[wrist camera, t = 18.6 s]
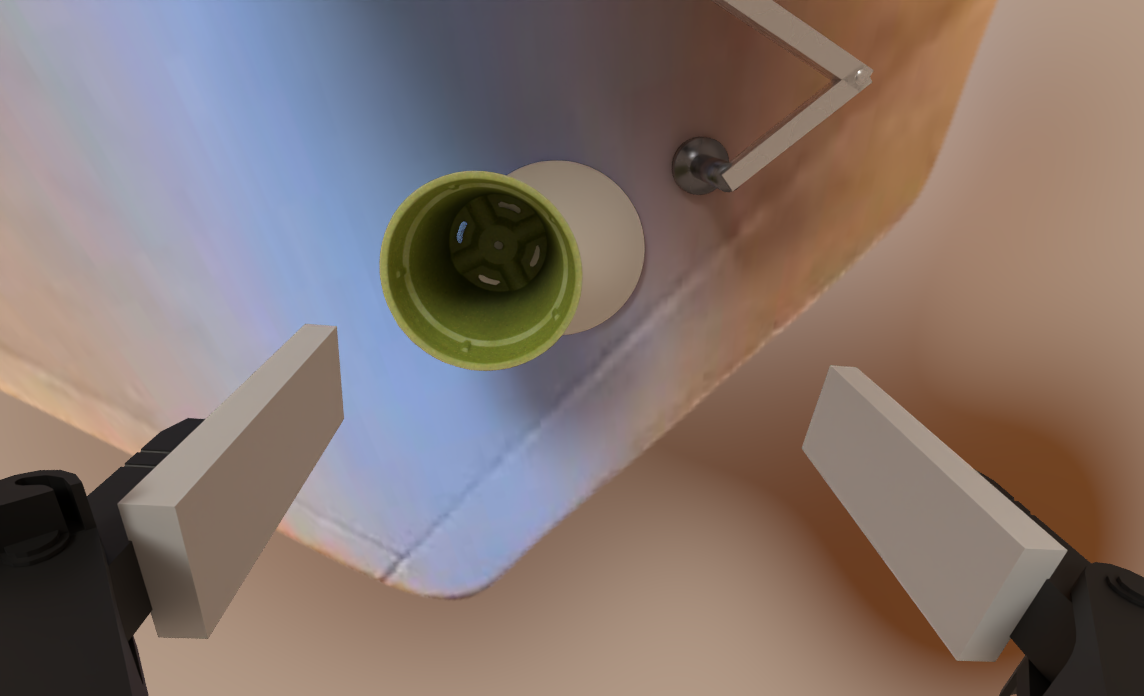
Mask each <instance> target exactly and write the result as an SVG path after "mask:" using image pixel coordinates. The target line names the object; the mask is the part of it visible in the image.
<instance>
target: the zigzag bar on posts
mask: <svg viewBox="0 0 1144 696" xmlns="http://www.w3.org/2000/svg"><path fill="white" fill-rule="evenodd" d="M712 1H713V2H715V3H716V4H718V5H719V6H721V7H722V8H724V9H725V10H727V11H728V12H730V13H731V14H733V15H734V16H736V17H737V18H739V19H740V20H742V21H743V22H745V23H746V24H748V25H749V26H751V27H752V28H754V29H755V30H757V31H758V32H760V33H761V34H763V35H764V36H766V37H767V38H769V39H770V40H772V41H773V42H775V43H776V44H778V45H779V46H781V47H782V48H784V49H785V50H787V51H788V52H790V53H791V54H793V55H794V56H796V57H797V58H799V59H800V60H802V61H803V62H805V63H806V64H807V65H809V66H810V67H812V68H813V69H815V70H816V71H818V72H819V73H821V74H822V75H824V76H825V77H827V78H828V79H830V80H831V81H830V82H829V83H828V84H827V85H825V86H824V87H823V88H822V89H820V90H819V91H818V92H817V93H815V94H814V95H813V96H812V97H810V98H809V99H808V100H807V101H805V102H804V103H803V104H802V105H800V106H799V107H798V108H797V109H795V110H794V111H793V112H792V113H790V114H789V115H788V116H787V117H785V118H784V119H783V120H782V121H780V122H779V123H778V124H776V125H775V126H774V127H773V128H771V129H770V130H769V131H768V132H766V133H765V134H764V135H763V136H761V137H760V138H759V139H758V140H756V141H755V142H754V143H753V144H751V145H750V146H749V147H748V148H746V149H745V150H744V151H743V152H741V153H740V154H739V155H738V156H736V157H735V158H734V159H733V160H731V161H730V162H729V158H728V154H727V152H726V150H725V148H724V147H723V145H722V144H721V143H719V142H718V141H716V140H714V139H711V138H707V137H695V138H692V139H689V140H688V141H686V142H685V143H683V144H682V145H681V146H680V147H679V148H678V150H677V151H676V153H675V155H674V158H673V162H672V174H673V177H674V179H675V181H676V183H677V184H678V185H679V186H680V187H681V188H682V189H684V190H685V191H687V192H689V193H691V194H696V195H702V194H707V193H710V192H712V191H714V190H715V189H717V188H718V189H720V190H722V191H724V192H732V191H734V190H736V189H737V188H739V186H740V185H741V184H743V183H744V182H745V181H747V180H748V179H749V178H750V177H752V176H753V175H754V174H756V173H757V172H758V171H759V170H761V169H762V168H763V167H764V166H766V165H767V164H768V163H770V162H771V161H772V160H773V159H775V158H776V157H777V156H779V155H780V154H781V153H782V152H784V151H785V150H786V149H788V148H789V147H790V146H791V145H793V144H794V143H795V142H796V141H798V140H799V139H800V138H802V137H803V136H804V135H805V134H807V133H808V132H809V131H811V130H812V129H813V128H814V127H816V126H817V125H818V124H820V123H821V122H822V121H823V120H825V119H826V118H827V117H829V116H830V115H831V114H832V113H834V112H835V111H836V110H837V109H839V108H840V107H841V106H843V105H844V104H845V103H846V102H848V101H849V100H850V99H852V98H853V97H854V96H855V95H857V94H858V93H859V92H861V91H862V90H863V89H864V88H866V87H867V86H868V85H869V84H871V83H872V80H871V78H870V75H871V74H872V72H873V71H874V70H873V69H871V68H870V67H868V66H867V65H865V64H864V63H862V62H861V61H860V60H858V59H857V58H855V57H854V56H852V55H851V54H849V53H848V52H847V51H845V50H844V49H842V48H841V47H839V46H838V45H836V44H835V43H833V42H832V41H831V40H829V39H828V38H826V37H825V36H823V35H822V34H820V33H819V32H818V31H816V30H815V29H813V28H812V27H810V26H809V25H807V24H806V23H804V22H803V21H802V20H800V19H799V18H797V17H796V16H794V15H793V14H791V13H790V12H788V11H787V10H786V9H784V8H783V7H781V6H780V5H778V4H777V3H775V2H774V1H773V0H712Z"/></svg>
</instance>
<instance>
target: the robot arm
mask: <svg viewBox="0 0 1144 696" xmlns="http://www.w3.org/2000/svg"><path fill="white" fill-rule="evenodd" d="M343 420H344V412H343V400H342V387H341V374H340V362H339V349H338V336H337V326H326V325H314V324H305V325H304V326H303V327H301V328H300V329H299V330H298V331H297V332H296V333H295V334H294V335H293V336H292V337H291V338H290V339H289V340H288V341H287V342H286V343H285V344H284V345H283V346H282V347H281V348H280V349H278V350H277V351H276V352H275V353H274V354H273V355H272V356H271V357H270V358H269V359H268V360H267V361H266V362H265V363H264V364H263V365H262V366H261V367H260V368H259V369H258V370H257V371H255V372H254V373H253V374H252V375H251V376H250V377H249V378H248V379H247V380H246V381H245V382H244V383H243V384H242V385H241V386H240V387H239V388H238V389H237V390H236V391H235V392H234V393H232V394H231V395H230V396H229V397H228V398H227V399H226V400H225V401H224V402H223V403H222V404H221V405H220V406H219V407H218V408H217V409H216V410H215V411H214V412H213V413H212V414H211V415H209V416H208V417H207V418H206V419H194V418H187V419H185V420H183V421H181V422H179V423H177V424H175V425H173V426H171V427H169V428H167V429H165V430H163V431H161V432H160V433H159V434H158V435H156V436H155V437H154V438H153V439H152V440H151V441H150V442H149V443H147V444H146V445H145V446H144V447H143V448H142V449H141V452H140V453H139V452H137V453H136V454H135V455H134V456H133V457H131V458H130V459H129V460H128V461H127V462H126V463H125V466H124V467H120V468H119V469H118V470H117V471H116V472H114V473H113V474H112V475H111V476H110V477H109V478H108V479H106V480H105V481H104V482H103V483H102V484H101V485H100V486H99V487H97V488H96V489H95V490H94V491H93V492H92V493H90V494H89V495H88V496H86V493H85V490H84V487H83V484H82V482H81V480H80V479H79V478H78V477H77V476H76V474H73V473H69V472H66V471H62V470H39V471H34V472H28V473H23V474H18V475H14V476H11V477H8V478H5V479H2V480H0V696H148V691H147V687H146V683H145V678H144V674H143V670H142V666H141V661H140V657H139V653H138V649H137V645H136V643H135V639H134V636H133V635H134V633H135V632H136V631H137V629H138V628H139V627H140V625H141V624H142V623H143V621H144V620H145V619H146V617H147V616H148V615H149V614H150V612H151V615H152V618H153V622H154V625H155V628H156V631H157V635H158V637H164V638H167V637H168V638H199V639H208V638H209V637H210V635H211V633H212V632H213V630H214V628H215V627H216V625H217V624H218V622H219V620H220V619H221V617H222V615H223V614H224V612H225V611H226V609H227V607H228V606H229V604H230V603H231V601H232V599H233V598H234V596H235V594H236V593H237V591H238V589H239V588H240V586H241V585H242V583H243V581H244V580H245V578H246V577H247V575H248V573H249V572H250V570H251V569H252V567H253V565H254V564H255V562H256V560H257V559H258V557H259V556H260V554H261V552H262V551H263V549H264V548H265V546H266V544H267V543H268V541H269V539H270V538H271V536H272V535H273V533H274V531H275V530H276V528H277V526H278V525H279V523H280V522H281V520H282V518H283V517H284V515H285V514H286V512H287V510H288V509H289V507H290V505H291V504H292V502H293V501H294V499H295V497H296V496H297V494H298V493H299V491H300V489H301V488H302V486H303V484H304V483H305V481H306V480H307V478H308V476H309V475H310V473H311V471H312V470H313V468H314V467H315V465H316V463H317V462H318V460H319V459H320V457H321V455H322V454H323V452H324V450H325V449H326V447H327V446H328V444H329V442H330V441H331V439H332V437H333V436H334V434H335V433H336V431H337V429H338V428H339V426H340V425H341V423H342V421H343ZM802 449H803V451H804V452H805V454H806V455H807V456H808V458H809V459H810V460H811V462H812V463H813V464H814V466H815V467H816V468H817V470H818V471H819V473H820V474H821V475H822V477H823V478H824V479H825V481H826V482H827V484H828V485H829V486H830V488H831V489H832V490H833V492H834V493H835V494H836V496H837V497H838V499H839V500H840V501H841V503H842V504H843V505H844V507H845V508H846V510H847V511H848V512H849V514H850V515H851V516H852V518H853V519H854V520H855V522H856V523H857V525H858V526H859V527H860V529H861V530H862V531H863V533H864V534H865V536H866V537H867V538H868V540H869V541H870V542H871V544H872V545H873V546H874V548H875V549H876V551H877V552H878V553H879V555H880V556H881V557H882V559H883V560H884V562H885V563H886V564H887V566H888V567H889V568H890V570H891V571H892V572H893V574H894V575H895V577H896V578H897V579H898V581H899V582H900V583H901V585H902V586H903V587H904V589H905V590H906V591H907V593H908V594H909V596H910V597H911V598H912V600H913V601H914V603H915V604H916V605H917V606H918V608H919V609H920V611H921V612H922V613H923V615H924V616H925V617H926V619H927V620H928V622H929V623H930V624H931V626H932V627H933V628H934V630H935V631H936V632H937V634H938V635H939V637H940V638H941V639H942V641H943V642H944V644H945V645H946V646H947V648H948V649H949V650H950V652H951V653H952V654H953V656H954V657H955V659H956V660H957V661H958V660H959V661H992V662H995V661H996V660H997V658H998V657H999V655H1000V654H1001V652H1002V651H1003V649H1004V647H1005V646H1006V644H1007V643H1008V641H1009V640H1010V638H1011V639H1012V640H1013V641H1014V642H1015V643H1016V645H1017V646H1018V647H1019V648H1020V649H1021V650H1022V651H1023V653H1024V654H1025V657H1024V658H1023V660H1022V661H1021V662H1020V664H1019V665H1018V667H1017V668H1016V670H1015V671H1014V673H1013V674H1012V676H1011V677H1010V679H1009V680H1008V681H1007V683H1006V684H1005V686H1004V687H1003V689H1002V690H1001V693H1000V695H999V696H1010V695H1012V694H1017V696H1144V577H1142V576H1140V575H1138V574H1135V573H1134V572H1132V571H1130V570H1127V569H1124V568H1121V567H1118V566H1115V565H1112V564H1106V563H1098V562H1095V563H1090V562H1089V561H1087V560H1086V559H1085V558H1084V557H1083V556H1082V555H1080V554H1079V553H1078V552H1077V551H1076V550H1075V549H1073V548H1072V547H1071V546H1070V545H1069V544H1068V543H1066V542H1065V541H1064V540H1063V539H1061V537H1059V536H1058V535H1057V534H1056V533H1055V532H1054V531H1052V530H1051V529H1050V528H1049V527H1048V526H1047V525H1045V524H1044V523H1043V522H1042V521H1040V520H1039V519H1038V518H1037V517H1036V516H1034V515H1031V514H1030V511H1029V510H1028V509H1026V508H1025V507H1024V506H1023V505H1022V504H1021V503H1020V502H1018V501H1014V497H1012V496H1011V495H1010V494H1009V493H1008V492H1007V491H1006V490H1004V489H1003V488H1002V487H1001V486H1000V485H998V484H997V483H996V482H995V481H994V480H992V479H990V478H989V477H987V476H985V475H984V474H982V473H980V472H978V471H977V470H975V469H973V468H972V467H971V466H970V465H969V464H967V463H966V462H965V461H964V460H963V459H962V458H961V457H959V456H958V455H957V454H956V453H955V452H954V451H952V450H951V449H950V448H949V447H948V446H947V445H946V444H944V443H943V442H942V441H941V440H940V439H939V438H937V437H936V436H935V435H934V434H933V433H932V432H930V431H929V430H928V429H927V428H926V427H925V426H924V425H922V424H921V423H920V422H919V421H918V420H917V419H915V418H914V417H913V416H912V415H911V414H910V413H909V412H907V411H906V410H905V409H904V408H903V407H902V406H900V405H899V404H898V403H897V402H896V401H895V400H893V399H892V398H891V397H890V396H889V395H888V394H887V393H886V392H884V391H883V390H882V389H881V388H880V387H879V386H878V385H876V384H875V383H874V382H873V381H872V380H871V379H869V378H868V377H867V376H866V375H865V374H864V373H863V372H861V371H860V370H859V369H858V368H857V367H846V366H833V365H830V367H829V370H828V373H827V376H826V379H825V382H824V385H823V388H822V391H821V394H820V396H819V399H818V402H817V405H816V408H815V411H814V414H813V417H812V420H811V423H810V426H809V429H808V432H807V434H806V437H805V440H804V443H803V446H802Z"/></svg>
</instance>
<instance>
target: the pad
mask: <svg viewBox="0 0 1144 696" xmlns="http://www.w3.org/2000/svg"><path fill="white" fill-rule="evenodd" d="M506 176H509V177H512V178H515V179H517V180H520V181H522V182H524V183H526V184H528V185H529V186H531V187H533V188H534V189H536V190H537V191H539V192H540V193H541V194H543V195H544V196H545V197H546V198H547V199H548V200H550V201H551V202H552V203H553V204H554V205H555V207H556V208H557V209H558V210H559V212H560V213H561V214H562V215H563V217H564V218H565V220H566V221H567V223H568V224H569V226H570V228H571V230H572V232H573V234H574V237H575V239H576V242H577V244H578V248H579V252H580V256H581V262H582V272H583V282H582V291H581V297H580V300H579V304H578V308H577V310H576V313H575V315H574V317H573V319H572V321H571V323H570V325H569V326H568V328H567V329H566V331H565V332H564V334H563V335H569V334H574V333H579V332H583V331H585V330H588V329H591V328H593V327H595V326H597V325H599V324H601V323H603V322H604V321H606V320H607V319H608V318H610V317H611V316H612V315H614V314H615V313H616V312H617V311H618V310H619V309H620V308H621V307H622V306H623V305H624V304H625V302H626V301H627V300H628V298H629V297H630V295H631V294H632V292H633V291H634V289H635V287H636V285H637V283H638V280H639V277H640V275H641V271H642V267H643V262H644V253H645V245H644V235H643V229H642V225H641V222H640V219H639V216H638V214H637V212H636V210H635V208H634V206H633V204H632V203H631V201H630V200H629V198H628V197H627V195H626V194H625V193H624V192H623V191H622V190H621V188H620V187H619V186H618V185H617V184H616V183H614V182H613V181H612V180H611V179H610V178H609V177H607V176H605V175H604V174H602V173H601V172H599V171H597V170H595V169H593V168H591V167H589V166H586V165H583V164H580V163H577V162H571V161H565V160H549V161H540V162H536V163H532V164H528V165H526V166H523V167H521V168H518V169H516V170H515V171H513V172H511V173H509V174H508V175H506ZM498 205H499V207H504V208H507V209H510V210H512V211H515V212H516V213H520V212H521V211H520V208H519V207H517V206H516V205H514V204H507V203H504V202H500V203H499V204H498ZM494 247H495V248H496V249H502V247H503V244H502V243H501V242H499V241H497V242H495V243H494ZM539 251H540V249H539V247H538V245H537V246H536V250H535V253H534V255H533V258H532V260H531V262H530V266H532V267H533V266H534V265H535V264H536V263H537V261H538V259H539ZM479 278H480V280H481V281H483V282H485V283H489V284H493V285H497V284H498V283H500V282H499V281H497V280H493V279H489V278H487V277H485V276H483V275H479Z"/></svg>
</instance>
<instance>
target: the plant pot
mask: <svg viewBox="0 0 1144 696" xmlns="http://www.w3.org/2000/svg"><path fill="white" fill-rule="evenodd" d="M500 202H504V203H507V204H514V205H516V206H517V207H519V208H520V211H521V212H520V213H516V212H515V211H512V210H510V209H507V208H504V207H499V205H498V204H499V203H500ZM463 221H466V222H467V226H466V228H465V230H464V233H463V240H462V242H461V243H459V242H458V241H457V233H458V230H459V226H460V224H461V223H462V222H463ZM497 241H499V242H501V243H502V244H503V247H502V249H496V248H495V247H494V243H495V242H497ZM537 245H538V247H539V249H540V251H539V259H538V261H537V263H536V264H535V265H534V266H533V267H532V266H530V262H531V260H532V258H533V255H534V253H535V250H536V246H537ZM479 275H483V276H485V277H487V278H489V279H493V280H497V281H499V282H500V283H498V284H497V285H493V284H489V283H485V282H483V281H481V280H480V278H479ZM380 279H381V285H382V289H383V293H384V297H385V300H386V302H387V305H388V307H389V309H390V311H391V313H392V315H393V317H394V319H395V320H396V322H397V324H398V326H399V327H400V328H401V329H402V330H403V332H404V333H405V334H406V335H407V336H408V337H409V338H410V340H412V341H413V342H414V343H415V344H416V345H417V346H418V347H420V348H421V349H422V350H424V351H425V352H426V353H428V354H430V355H431V356H433V357H434V358H436V359H438V360H440V361H442V362H445V363H447V364H450V365H453V366H457V367H460V368H465V369H469V370H479V371H490V370H501V369H507V368H511V367H515V366H518V365H520V364H523V363H526V362H528V361H530V360H532V359H534V358H536V357H537V356H539V355H541V354H542V353H544V352H545V351H547V350H548V349H549V348H550V347H552V346H553V345H554V344H555V343H556V342H557V341H558V340H559V338H560V337H561V336H562V335H563V334H564V332H565V331H566V329H567V328H568V326H569V325H570V323H571V321H572V319H573V317H574V315H575V313H576V310H577V308H578V304H579V300H580V297H581V291H582V282H583V272H582V262H581V256H580V252H579V248H578V244H577V242H576V239H575V237H574V234H573V232H572V230H571V228H570V226H569V224H568V223H567V221H566V220H565V218H564V217H563V215H562V214H561V213H560V212H559V210H558V209H557V208H556V207H555V205H554V204H553V203H552V202H551V201H550V200H548V199H547V198H546V197H545V196H544V195H543V194H541V193H540V192H539V191H537V190H536V189H534V188H533V187H531V186H529V185H528V184H526V183H524V182H522V181H520V180H517V179H515V178H512V177H509V176H506V175H502V174H498V173H494V172H486V171H463V172H457V173H452V174H448V175H445V176H442V177H439V178H437V179H434V180H432V181H430V182H428V183H426V184H424V185H423V186H421V187H420V188H418V189H417V190H415V191H414V192H413V193H412V194H411V195H410V196H408V197H407V198H406V199H405V200H404V202H403V203H402V204H401V205H400V206H399V207H398V209H397V210H396V212H395V213H394V215H393V216H392V218H391V220H390V222H389V224H388V227H387V229H386V231H385V234H384V238H383V241H382V246H381V252H380Z"/></svg>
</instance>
